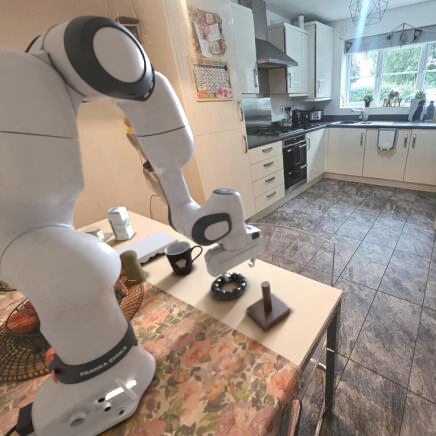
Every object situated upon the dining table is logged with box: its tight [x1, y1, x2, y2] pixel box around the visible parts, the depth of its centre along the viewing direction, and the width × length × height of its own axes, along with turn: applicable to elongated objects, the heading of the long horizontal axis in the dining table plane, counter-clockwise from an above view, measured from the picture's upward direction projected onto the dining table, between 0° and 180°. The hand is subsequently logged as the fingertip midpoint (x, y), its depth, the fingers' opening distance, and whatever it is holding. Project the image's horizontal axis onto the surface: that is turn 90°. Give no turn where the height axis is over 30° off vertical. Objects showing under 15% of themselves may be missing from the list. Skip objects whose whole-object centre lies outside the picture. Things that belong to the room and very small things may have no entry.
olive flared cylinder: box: [119, 250, 147, 285], centre depth 85 cm, size 6×6×11 cm
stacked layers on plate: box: [81, 225, 112, 242], centre depth 113 cm, size 10×9×6 cm
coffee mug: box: [163, 240, 204, 277], centre depth 88 cm, size 12×9×10 cm
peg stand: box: [246, 280, 291, 331], centre depth 69 cm, size 9×9×10 cm
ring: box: [210, 271, 248, 301], centre depth 80 cm, size 12×12×3 cm
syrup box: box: [105, 206, 135, 241], centre depth 112 cm, size 6×6×14 cm
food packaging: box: [114, 230, 179, 264], centre depth 102 cm, size 15×3×20 cm
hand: (240, 272), depth 82 cm, fingers open, 8 cm apart
